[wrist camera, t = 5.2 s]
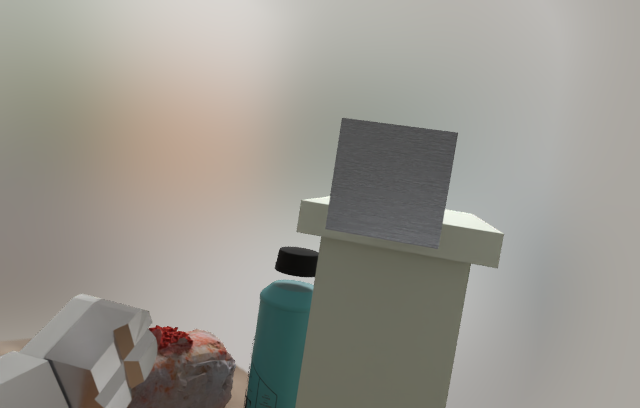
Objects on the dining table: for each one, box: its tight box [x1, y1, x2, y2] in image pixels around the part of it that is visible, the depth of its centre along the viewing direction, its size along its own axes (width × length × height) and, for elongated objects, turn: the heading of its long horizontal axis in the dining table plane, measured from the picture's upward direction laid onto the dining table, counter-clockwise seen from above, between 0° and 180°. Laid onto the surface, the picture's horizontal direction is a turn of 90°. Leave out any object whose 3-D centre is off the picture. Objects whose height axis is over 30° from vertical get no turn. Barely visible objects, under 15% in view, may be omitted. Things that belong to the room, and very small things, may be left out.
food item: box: [127, 325, 236, 408], centre depth 48 cm, size 14×8×10 cm, turn 143°
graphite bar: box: [325, 118, 458, 249], centre depth 23 cm, size 22×3×3 cm, turn 168°
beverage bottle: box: [244, 247, 319, 408], centre depth 45 cm, size 6×7×20 cm
